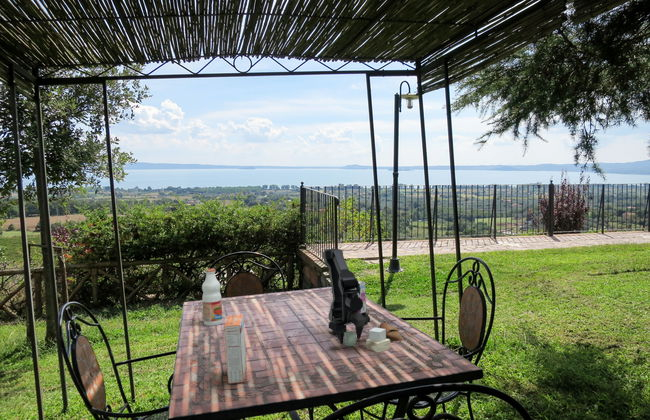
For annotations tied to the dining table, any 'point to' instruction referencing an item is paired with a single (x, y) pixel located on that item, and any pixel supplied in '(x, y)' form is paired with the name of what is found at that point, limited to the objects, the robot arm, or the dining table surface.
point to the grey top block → (377, 334)
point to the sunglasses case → (391, 332)
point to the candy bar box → (362, 296)
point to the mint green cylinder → (350, 338)
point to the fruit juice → (211, 299)
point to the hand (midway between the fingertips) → (350, 341)
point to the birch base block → (378, 345)
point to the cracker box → (235, 349)
